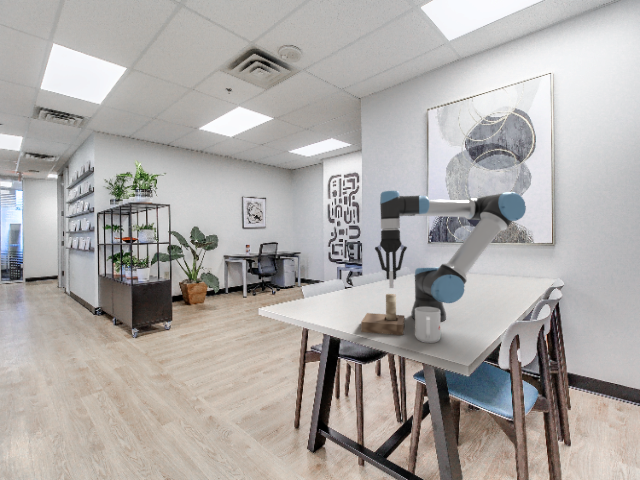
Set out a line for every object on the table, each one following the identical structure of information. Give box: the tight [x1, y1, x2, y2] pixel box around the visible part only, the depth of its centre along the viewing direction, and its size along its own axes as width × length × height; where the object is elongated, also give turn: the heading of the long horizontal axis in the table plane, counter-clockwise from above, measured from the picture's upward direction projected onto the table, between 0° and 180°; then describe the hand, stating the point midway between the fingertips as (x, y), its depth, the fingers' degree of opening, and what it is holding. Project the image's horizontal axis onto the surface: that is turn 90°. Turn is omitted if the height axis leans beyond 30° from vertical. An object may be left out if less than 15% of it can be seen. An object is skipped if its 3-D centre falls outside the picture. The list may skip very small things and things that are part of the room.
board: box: [360, 312, 405, 336], centre depth 132 cm, size 16×14×4 cm
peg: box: [385, 293, 397, 321], centre depth 131 cm, size 4×4×14 cm
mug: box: [414, 307, 442, 344], centre depth 116 cm, size 12×9×11 cm
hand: (391, 287), depth 130 cm, fingers closed
